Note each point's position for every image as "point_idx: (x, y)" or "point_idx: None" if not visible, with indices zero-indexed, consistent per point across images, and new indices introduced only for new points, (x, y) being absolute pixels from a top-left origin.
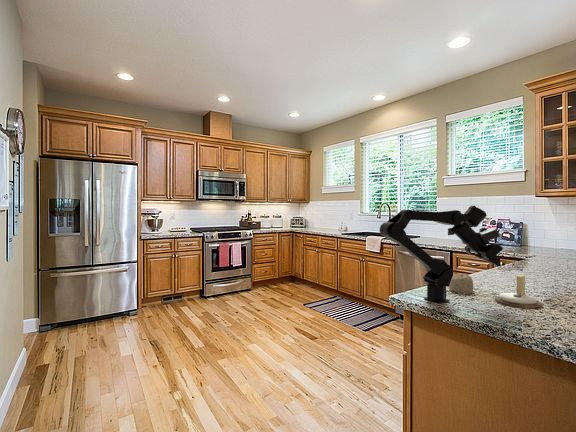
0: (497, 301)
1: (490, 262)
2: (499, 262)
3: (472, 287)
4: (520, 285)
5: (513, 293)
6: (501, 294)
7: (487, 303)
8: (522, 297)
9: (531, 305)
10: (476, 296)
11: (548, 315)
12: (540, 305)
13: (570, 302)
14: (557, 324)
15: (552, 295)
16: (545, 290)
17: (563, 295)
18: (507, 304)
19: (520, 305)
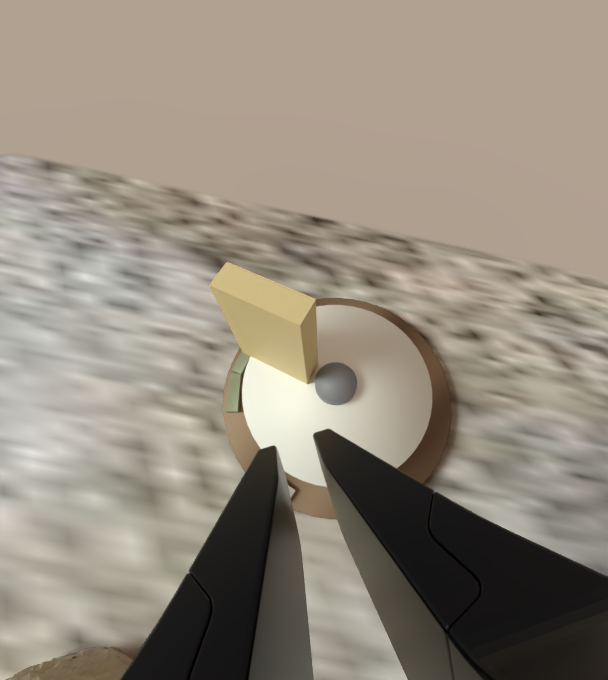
0: None
1: (306, 606)
2: (352, 446)
3: (91, 670)
4: (314, 337)
5: (253, 389)
6: (313, 470)
7: None
8: (345, 363)
9: None
10: None
11: (516, 320)
12: (389, 312)
13: (230, 200)
14: None
15: (117, 225)
16: (19, 226)
17: (109, 193)
18: (435, 464)
19: (444, 401)
